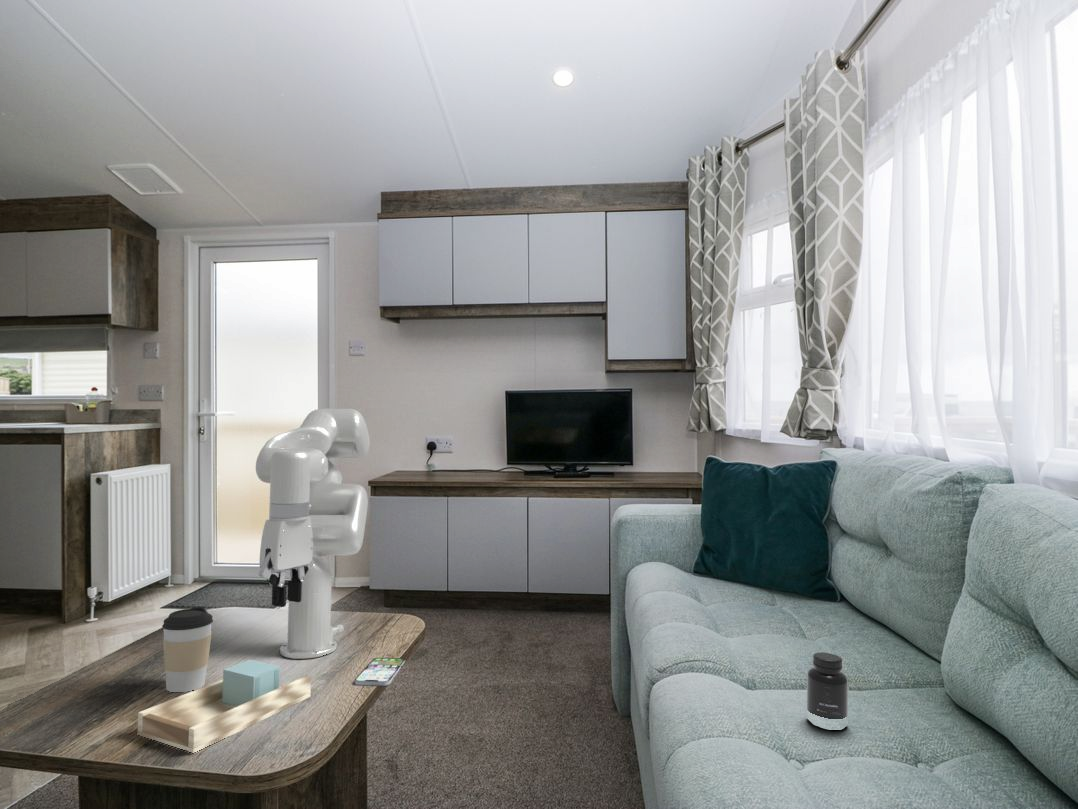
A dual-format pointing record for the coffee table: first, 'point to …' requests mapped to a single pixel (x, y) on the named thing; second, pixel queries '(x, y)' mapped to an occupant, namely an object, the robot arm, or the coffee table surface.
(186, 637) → the coffee cup
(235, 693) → the light blue block
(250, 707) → the bay
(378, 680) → the smartphone
